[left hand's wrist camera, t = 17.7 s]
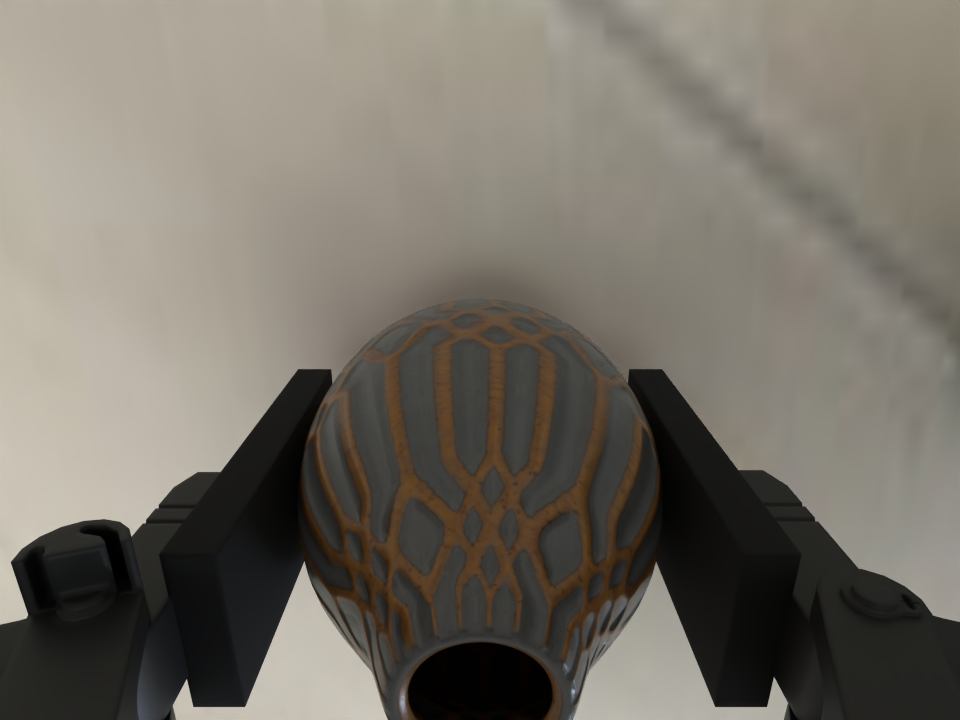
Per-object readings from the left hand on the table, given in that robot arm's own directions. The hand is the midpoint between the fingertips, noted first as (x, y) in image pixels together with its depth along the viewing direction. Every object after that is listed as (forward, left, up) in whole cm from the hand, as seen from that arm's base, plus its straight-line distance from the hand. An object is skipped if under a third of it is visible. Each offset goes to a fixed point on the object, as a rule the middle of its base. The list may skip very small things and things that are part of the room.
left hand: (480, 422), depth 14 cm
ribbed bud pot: (0, 0, -1) cm, 1 cm away
